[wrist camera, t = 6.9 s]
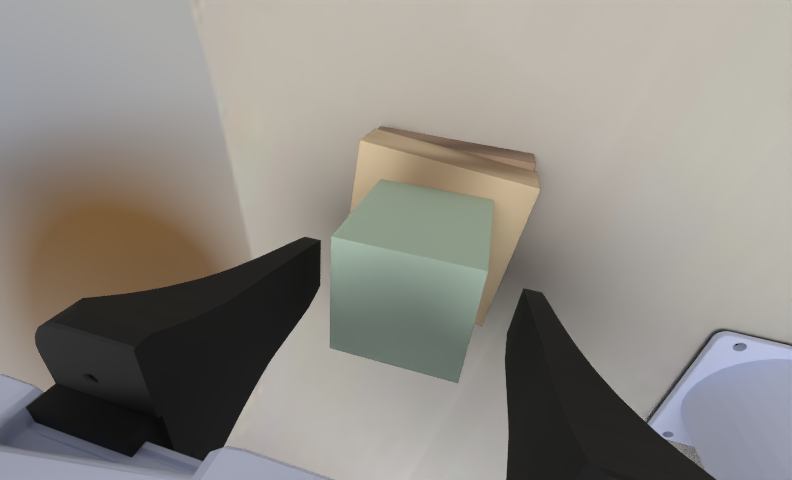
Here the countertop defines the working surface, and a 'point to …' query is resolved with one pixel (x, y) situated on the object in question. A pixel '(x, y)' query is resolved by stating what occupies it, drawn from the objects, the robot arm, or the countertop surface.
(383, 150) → the tower top
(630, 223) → the countertop surface
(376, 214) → the sage block
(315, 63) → the countertop surface
